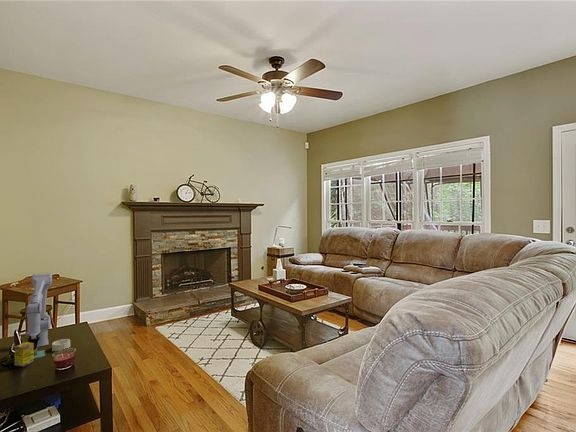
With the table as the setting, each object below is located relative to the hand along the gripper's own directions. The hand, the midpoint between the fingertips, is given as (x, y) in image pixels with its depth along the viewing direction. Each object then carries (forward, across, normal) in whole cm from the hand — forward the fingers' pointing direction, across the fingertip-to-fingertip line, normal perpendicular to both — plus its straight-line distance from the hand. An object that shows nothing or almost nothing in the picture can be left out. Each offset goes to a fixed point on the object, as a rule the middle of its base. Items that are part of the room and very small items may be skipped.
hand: (33, 347), depth 185 cm
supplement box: (+5, +11, -4) cm, 13 cm away
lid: (+5, 0, 0) cm, 5 cm away
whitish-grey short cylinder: (+5, -2, +13) cm, 14 cm away
